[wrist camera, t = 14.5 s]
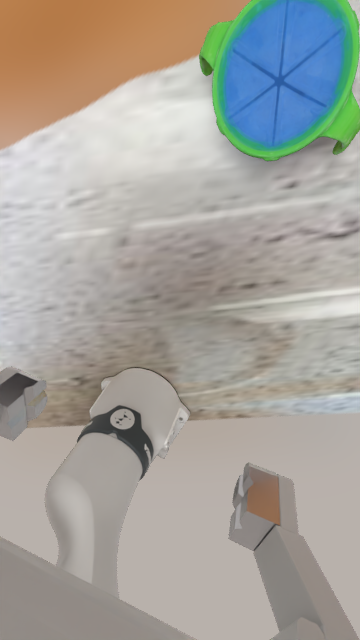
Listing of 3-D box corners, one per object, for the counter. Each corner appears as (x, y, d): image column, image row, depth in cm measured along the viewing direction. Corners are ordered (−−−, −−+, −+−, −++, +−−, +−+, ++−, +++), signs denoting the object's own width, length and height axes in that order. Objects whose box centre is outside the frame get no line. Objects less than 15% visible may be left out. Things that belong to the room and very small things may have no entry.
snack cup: (192, 115, 31) (162, 87, 23) (253, 0, 26) (246, -94, 17) (295, 199, 32) (305, 203, 23) (375, 104, 27) (428, 63, 18)
